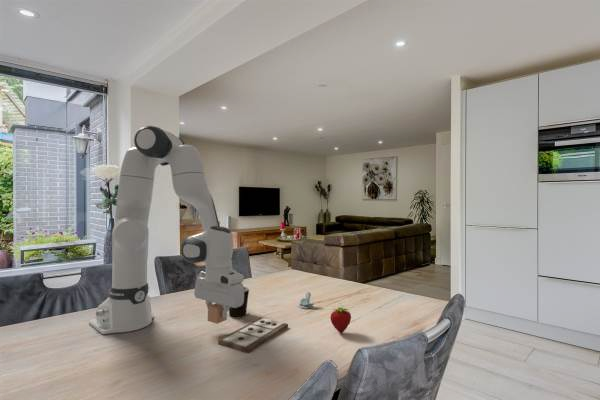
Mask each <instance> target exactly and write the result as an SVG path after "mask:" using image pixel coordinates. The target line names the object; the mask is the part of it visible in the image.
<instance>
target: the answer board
mask: <svg viewBox="0 0 600 400" xmlns="http://www.w3.org/2000/svg"><path fill="white" fill-rule="evenodd" d="M288 328H289V324H288V323H286V322H282V321H278V320H273V319H269V318H264V317H259V318H257V319H255V320H253V321H252V322H250V323H248V324H246V325H244V326H242V327H240V328H238V329H237V330H235V331H233V332H231V333H228V334H226V335H225V336H223V337H221V338H219V339H218V345H220V346H221V345H222V346H224V347H228V348H231V349H235V350H237V351H241V352H244V353H246V354H249V353H251V352H253V351H255V350H256V349H257V348H258V347H259V348H260V346H263V344H265V343H266V342H268V341H270V340H271V339H272V338H274V337H275V336H277V335H279V334H280V333H282V332H283V331H285V330H287V329H288Z"/></svg>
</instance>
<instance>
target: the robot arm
mask: <svg viewBox="0 0 600 400" xmlns="http://www.w3.org/2000/svg"><path fill="white" fill-rule="evenodd" d="M133 142H134V146H135V147H131V148H128V149H127V150H126V152H125V154H124V156H123V160H122V162H121V167H120V174H119V180H118V188H117V196H116V204H115V215H114V224H113V228H112V232H111V248H112V249H111V252H112V253H111V254H112V255H111V257H112V258H111V259H112V262H111V263H112V268H111V269H112V273H111V275H112V276H111V277H112V278H111V284H112V285H111V286H109V287H108V289H107V290H108V291H109V292H108V297H107V298H106V299H105V300H104V301H103V302H102V303H101V304H99V305H98V306H97V309H96V312H95V316H96V317H94V318H92V319H90V320H89V321H88V324H89V325H90V326H91V327H92V328H94V329H95V330H96V331H97V332H99V333H100V334H102V335H106V334H107V335H108V334H117V333H128V332H134V331H137V330H141V329H143V328H145V327H148V326H149V325H150V324H151V323H152V319H154V318H155V315H154V313H152V303H151V301H152V300H151V297H150V295H148V294H149V289H150V287H149V283H148V260H149V259H148V257H149V256H148V255H149V233H150V232H149V227H148V225H149V224H148V223H149V217H150V212H151V206H152V205H151V204H152V199H153V190H154V184H155V183H154V181H155V175H156V174H155V173H156V169H157V167H158V166H159V165H160V166H162V167H163V166H168V165H169V166H170V170H171V171H170V172H171V179H172V180H171V181H172V187H173V190H174V193H175V194H176V196H177V197H178V198H180V200H182V201H184V202H186V203H187V204H189V205H192V207H194V208H195V209H196V211H197V213H198V215H199V218H200V222H201V226H202V230H203V231H202V232H200V233H197V234H192V235H190V236H187V237H186V238H184V239H183V241H182V243H181V245H180V254H181V257H182V259H184V261H186V262H187V263H189V264H199V263H205V271H202V270H201V271H200V272H199V273H197V276H196V280H195V286H194V292H193V293H194V294H193V295H194V297H195V299H199V300H203V301H205V305H206V308H207V309H208V306H210V305H213V304H216V303H218V304H221V305H223V308H224V309H223V312H220V317H222V318H226V317H227V318H228V313H229V308H230V307H233V308H237V307H240V306H242V304H243V303H244V287H245V286H244V284H243V282H244V280H245V277H244V275H243V274H242V273H240V272H239V271H237V270H235V269H234V268H233V261H232V259H233V257H232V256H233V254H234V237H233V233H232V230H230V229H229V228H227V227H225V226H221V225H220V222H219V217H218V214H217V210H216V206H215V203H214V199H213V196H212V194H211V193H210V191H209V189H208V185H207V181H206V176H205V169H204V164H203V161H202V157H201V153H200V152H199V150H198V148H196V147H195V146H193V145H192V144H191V145H190V144H185V142H184V141H183V140H182V138H180V137H178V136H176V135H175V134H174V133H172V132H170V131H167V130H165V129H162V128H161V127H158V126H154V125H145V126H142V127H139V129H137V131H136V132H135V135H134V138H133Z"/></svg>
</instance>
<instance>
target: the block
mask: <svg viewBox="0 0 600 400" xmlns="http://www.w3.org/2000/svg"><path fill="white" fill-rule="evenodd" d="M212 304H213V305H210V306H208V308H207V321H208V322H210V323H212V324H216V325H218V324H220V323H222V322H225V321H227V319H228V316H227V317H226V318H222V317H220V312H223V309H224V308H223V305H221V304H218V303H212Z"/></svg>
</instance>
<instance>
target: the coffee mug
mask: <svg viewBox="0 0 600 400" xmlns="http://www.w3.org/2000/svg"><path fill="white" fill-rule="evenodd" d="M249 292H250V288H249V287H247V286H244V303H243V304H242V306H240V307H237V308H233V307H230V308H229V310H228V314H229V317H231V318H234V319H237V318H238V319H239V318H245V316H246V315H247V308H248V299H249V294H250V293H249Z"/></svg>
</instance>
